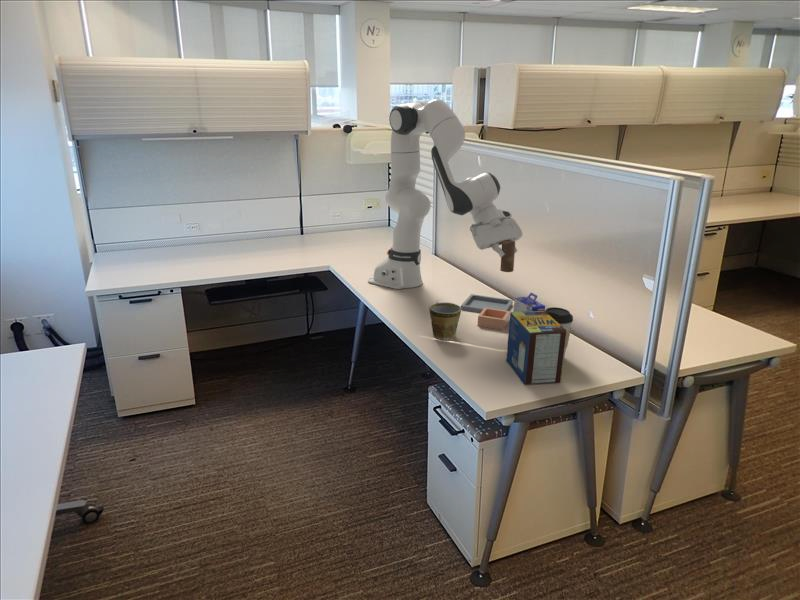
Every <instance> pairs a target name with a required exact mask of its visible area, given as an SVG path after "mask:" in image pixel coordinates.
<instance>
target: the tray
mask: <svg viewBox="0 0 800 600" xmlns="http://www.w3.org/2000/svg"><path fill="white" fill-rule="evenodd" d="M512 306H514V300H513V299H508V298H500V297H495V296H487V295H479V294H475V293H474V294H473V293H470V295H469V296H468V297H467V298H466V299H465V300H464V301H463V303H462V304H461V305H460V307H461V311H467V312H469V311H470V312H475V313H479V314H480V313H481V312H482V310H483V309H484V308H492V309H498V310H505V311H510V309H511V307H512Z"/></svg>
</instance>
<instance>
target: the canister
mask: <svg viewBox="0 0 800 600" xmlns="http://www.w3.org/2000/svg"><path fill="white" fill-rule="evenodd" d="M515 247H516V241H512V240H505V241H502V245H501V249H502V250H504V251H505V252H506V255H505V256H503V257H500V271H501V272H503V273H513V272H514V268H515V266H514V265H515V254H516V253H515Z"/></svg>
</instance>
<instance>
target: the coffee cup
mask: <svg viewBox="0 0 800 600" xmlns="http://www.w3.org/2000/svg"><path fill="white" fill-rule="evenodd" d="M545 312H546V313H547V314H549V315H550V316H551V317H552V318H553V319H554V320H555V321H557V322H558V323H559V324H560V325H561V326H562V327H563V328H565V329H566V330H567V332H566V340H565V348H564V356H563V361H564V360H565V357H566V356H565V355H566V351H567V347H568V345H569V341H570V335H571V330H572V323H573V322H574V316H573V314H572V313H570V311H569V310H568V309H565V308H561V307H556V306H555V307H547V308H545Z"/></svg>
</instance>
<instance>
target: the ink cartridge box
mask: <svg viewBox="0 0 800 600" xmlns="http://www.w3.org/2000/svg"><path fill="white" fill-rule="evenodd" d="M531 296H532V297H531ZM537 298H538V295H537V294H535V293H534V292H530V293H529V295H528V296H522V297H521V296H519V297H515V298H514V300H513V310H512V312H520V311H543V310H544V311H545V310H546V305H545V304H543V303H542V302H541V303H540V302H539V301H538V300H537Z"/></svg>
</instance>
